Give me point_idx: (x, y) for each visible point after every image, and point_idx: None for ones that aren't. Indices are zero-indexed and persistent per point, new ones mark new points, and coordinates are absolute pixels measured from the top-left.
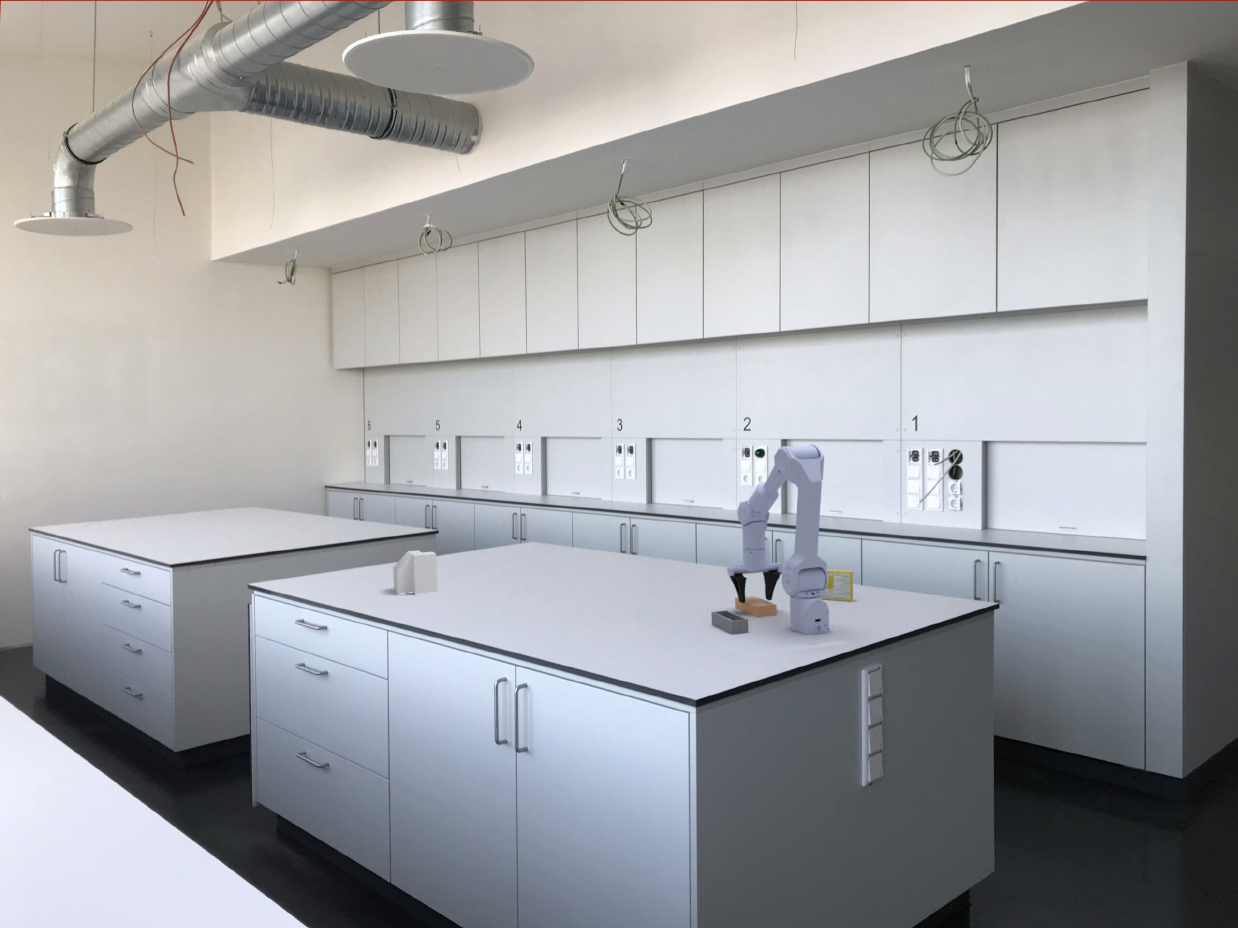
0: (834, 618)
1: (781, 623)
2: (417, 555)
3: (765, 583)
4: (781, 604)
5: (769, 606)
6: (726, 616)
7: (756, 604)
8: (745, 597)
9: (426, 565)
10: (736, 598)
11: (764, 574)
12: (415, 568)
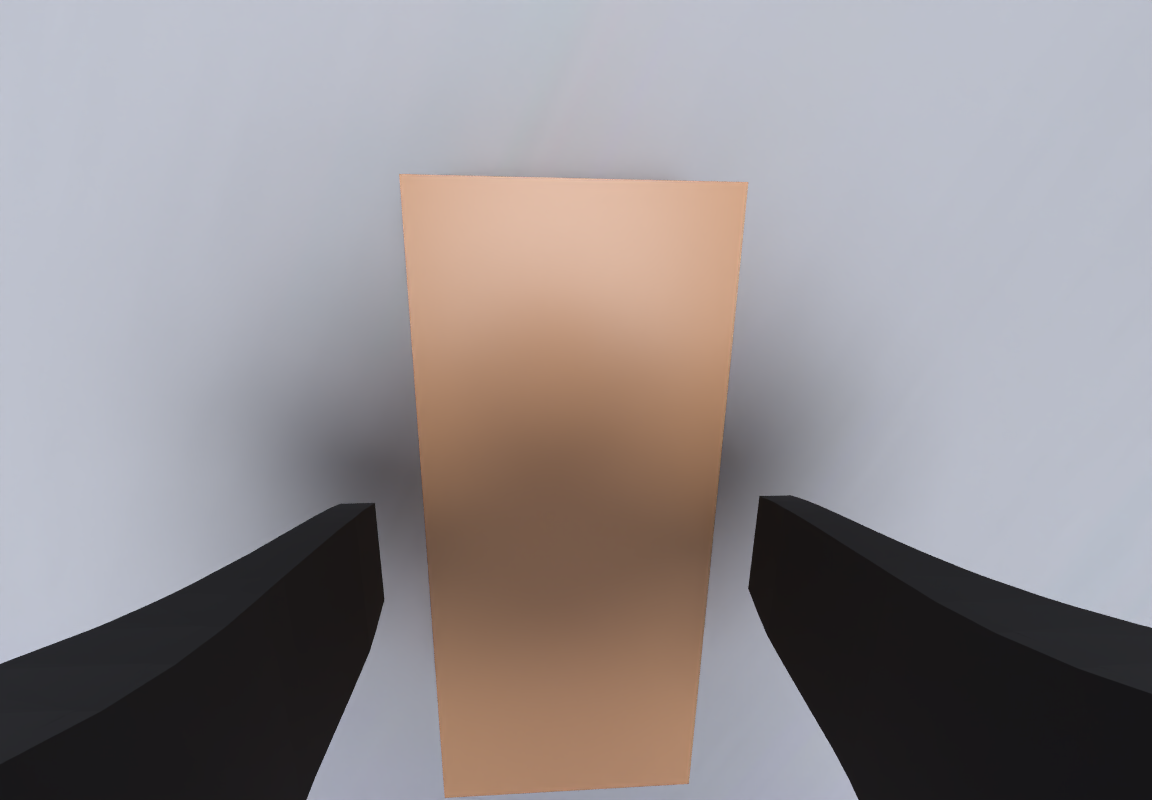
0: None
1: (601, 794)
2: None
3: (915, 615)
4: (1110, 98)
5: (599, 775)
6: None
7: (491, 702)
8: (567, 242)
9: None
10: (405, 231)
11: (1130, 782)
12: None
